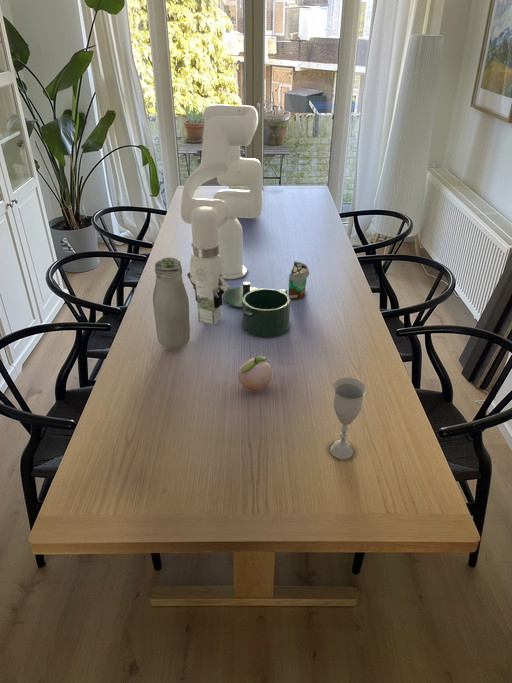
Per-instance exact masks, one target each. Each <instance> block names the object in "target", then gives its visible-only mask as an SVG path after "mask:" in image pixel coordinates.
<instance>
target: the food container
mask: <svg viewBox="0 0 512 683" xmlns="http://www.w3.org/2000/svg"><path fill="white" fill-rule="evenodd" d="M309 276H310V270H309V267H308V265H307V264H305V263H304V262H300V261H297V260H296V261H295V260H294V261H293V266H292V268H291V271H290V273H289V274H288V296H289V298H290V301H293V300H299V299H302V298H303V297H304V296H305V294H306V285H307V280H308V277H309Z"/></svg>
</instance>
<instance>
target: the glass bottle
mask: <svg viewBox="0 0 512 683" xmlns="http://www.w3.org/2000/svg"><path fill="white" fill-rule="evenodd" d="M182 269H183V268H182V264H181V261H180V260H179V259H177V258H176V257H172V256H171V257H170V256H166V257H162V258H160V259H158V260H157V261H156V262H155V264H154V273H155V283H154V288H153V293H152V303H153V304H152V305H153V313H154V322H155V330H156V337H157V340H158V341H157V342H158V343H159V344H160V345H161V346H162V348H164V349H166V350H173V351H174V350H179V349H182V348H184V347H186V346H187V344H188V343H189V341H190V338H191V324H190V323H191V322H190V301H189V296H188V292H187V289H186V287H185V284H184V281H183V276H182V275H183V270H182Z"/></svg>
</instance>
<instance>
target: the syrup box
mask: <svg viewBox="0 0 512 683" xmlns="http://www.w3.org/2000/svg"><path fill="white" fill-rule="evenodd" d="M217 291H218V292H219V290H218V288H217ZM196 292H197V301H196V303H197V304H196V305H197V317H198V323H202V324H207V325H212V326H216V324H217V323H218V322H219V320H221V318H222V308H221V307H222V305H221V306H220V307H218V308H215V307H214V297H215V294H214V290H209V289H207V288H204V284H201V283H200V282H197V281H196Z"/></svg>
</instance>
